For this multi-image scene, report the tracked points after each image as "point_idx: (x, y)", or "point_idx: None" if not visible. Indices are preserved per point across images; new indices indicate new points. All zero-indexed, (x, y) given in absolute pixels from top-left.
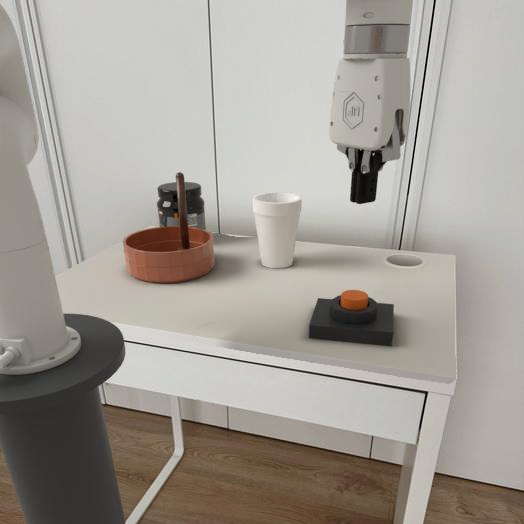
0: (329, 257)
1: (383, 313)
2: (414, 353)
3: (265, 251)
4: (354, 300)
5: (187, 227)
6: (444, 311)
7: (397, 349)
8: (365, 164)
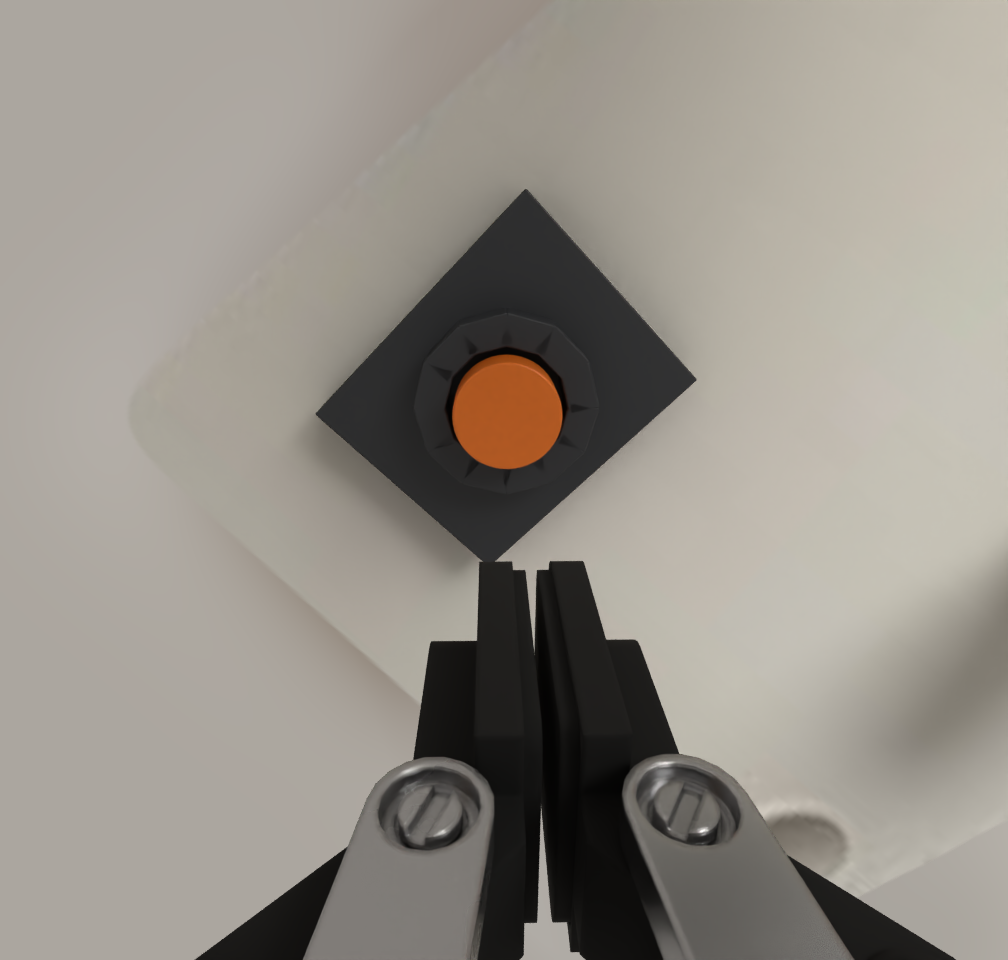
0: (1002, 699)
1: (449, 488)
2: (257, 427)
3: None
4: (466, 381)
5: None
6: None
7: (303, 402)
8: (402, 861)
